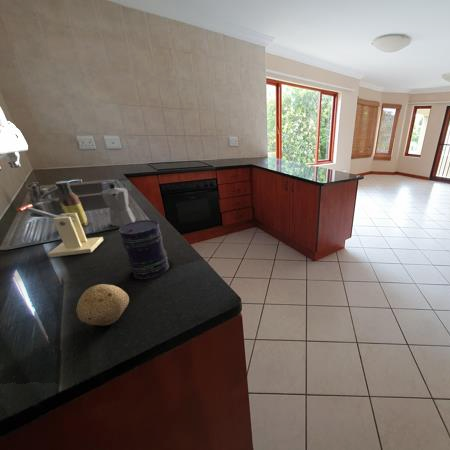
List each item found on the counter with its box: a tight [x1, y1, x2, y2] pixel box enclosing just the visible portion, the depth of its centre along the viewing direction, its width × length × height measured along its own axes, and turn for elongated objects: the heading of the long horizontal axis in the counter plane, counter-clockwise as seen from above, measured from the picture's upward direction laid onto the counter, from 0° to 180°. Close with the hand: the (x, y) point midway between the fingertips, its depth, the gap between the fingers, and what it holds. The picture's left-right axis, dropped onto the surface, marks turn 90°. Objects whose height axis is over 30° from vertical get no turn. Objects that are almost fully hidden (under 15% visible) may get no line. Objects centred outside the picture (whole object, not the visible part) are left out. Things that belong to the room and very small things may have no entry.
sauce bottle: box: [55, 180, 89, 228], centre depth 101 cm, size 7×6×20 cm
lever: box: [16, 203, 74, 222], centre depth 80 cm, size 13×5×2 cm, turn 108°
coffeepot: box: [100, 183, 137, 227], centre depth 106 cm, size 15×9×18 cm, turn 35°
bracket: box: [47, 213, 104, 258], centre depth 84 cm, size 12×10×13 cm
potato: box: [75, 283, 130, 327], centre depth 53 cm, size 9×9×10 cm
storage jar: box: [118, 219, 170, 280], centre depth 71 cm, size 10×10×15 cm
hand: (6, 169), depth 72 cm, fingers open, 6 cm apart
